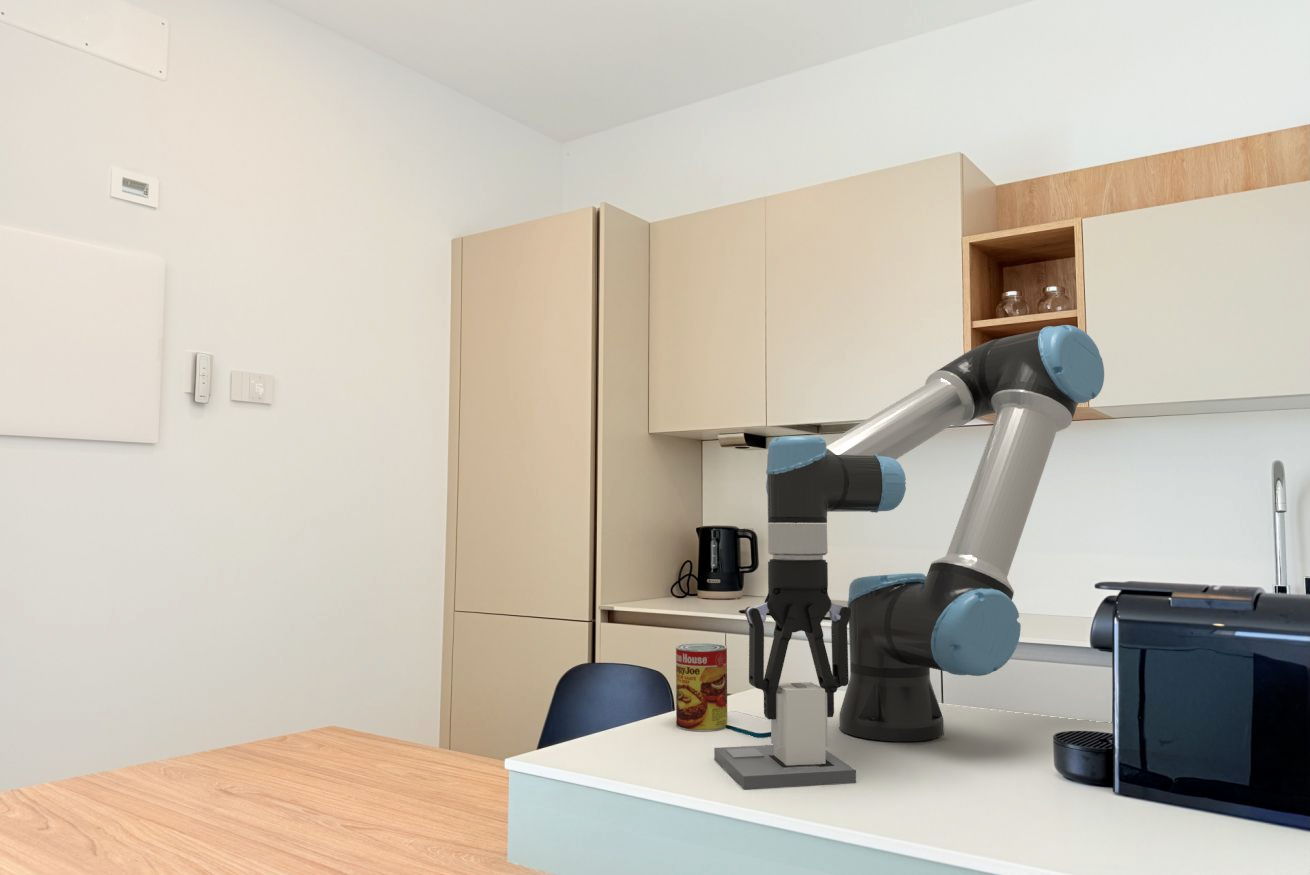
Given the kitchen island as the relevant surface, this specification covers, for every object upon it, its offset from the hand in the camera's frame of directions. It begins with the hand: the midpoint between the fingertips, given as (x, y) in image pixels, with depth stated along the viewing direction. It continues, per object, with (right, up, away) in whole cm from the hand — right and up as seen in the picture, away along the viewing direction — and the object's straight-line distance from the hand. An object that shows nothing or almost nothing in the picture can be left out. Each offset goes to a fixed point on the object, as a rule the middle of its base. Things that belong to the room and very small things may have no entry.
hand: (799, 744), depth 118 cm
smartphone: (-4, -6, +27) cm, 28 cm away
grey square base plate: (-2, -4, +1) cm, 4 cm away
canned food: (-11, -6, +27) cm, 29 cm away
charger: (0, -2, 0) cm, 2 cm away
